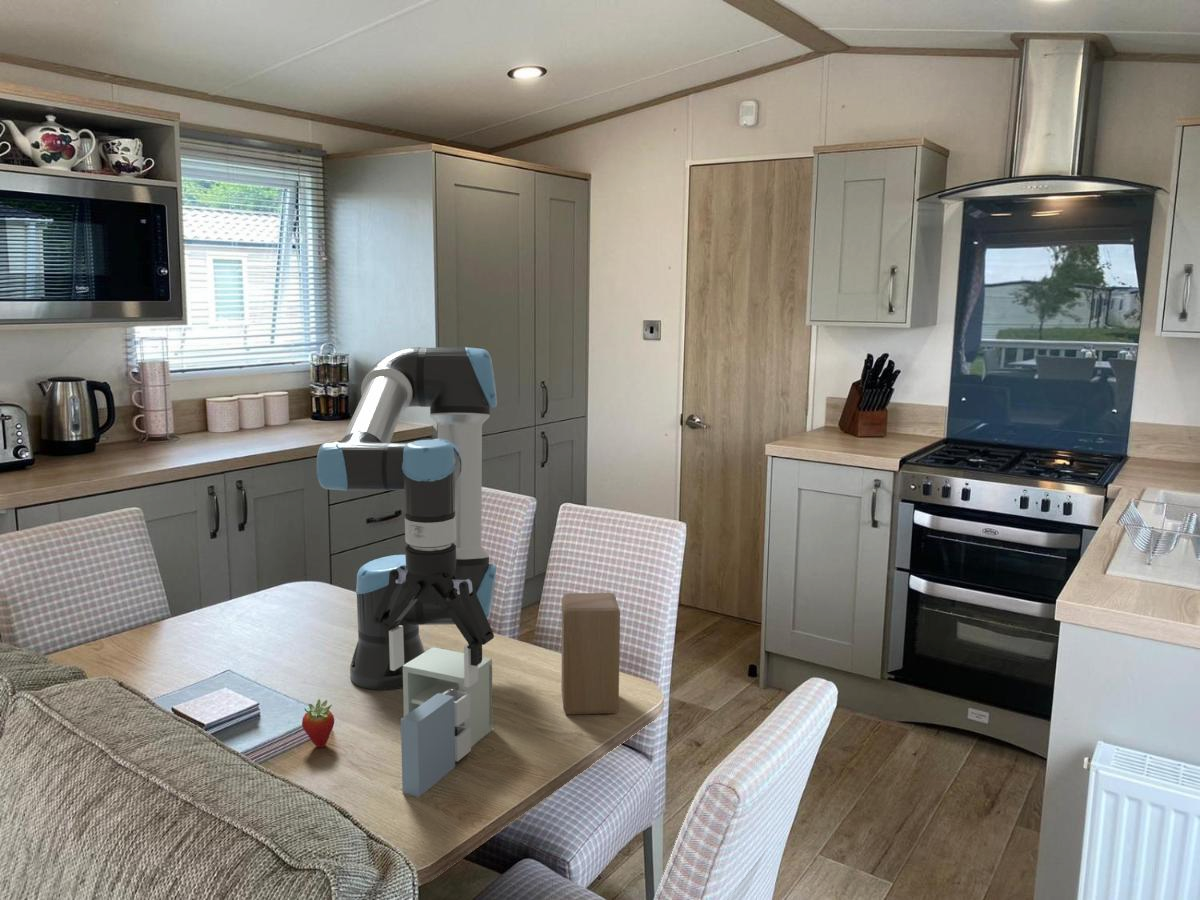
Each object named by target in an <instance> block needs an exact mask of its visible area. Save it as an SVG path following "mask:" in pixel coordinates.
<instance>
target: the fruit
mask: <svg viewBox="0 0 1200 900" xmlns="http://www.w3.org/2000/svg"><path fill="white" fill-rule="evenodd" d="M327 704H328V700H327V699H326V700H324V701H323V702H322V703H321V699H320V698H318V700H317V701H316V705H315V706H314V705H313V704H312V703H309V704H308V707H309V710H307V708H305V707H303V708H304V711H305V714H304V715H303V717H302V719H301V725H302V728H303V730H304V732H305V733H306V735H307V736H308V738H309V739H310V741H311V742H312V743H313V744H314V745H315V747H317V748H323V747H325V746H326V745H327V743H328V741H329V739H330V734H331V732H332V730H333V728H334V726H335V725H334V724H335V717H334V715H333V713H332V712H331V711H330V709H331V707H332V706H333V704H330V705H328V706H327Z"/></svg>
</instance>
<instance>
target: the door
mask: <svg viewBox="0 0 1200 900" xmlns="http://www.w3.org/2000/svg"><path fill="white" fill-rule="evenodd" d="M450 690H451V689H448V690H447V691H445V692H444V693H442V694H440V693H437V694H436V695H434V696H433V697H432V698H430V699H429V700H427V701H426V702H424V703H423V704H422V705H420V706H419V707H417V708H416V709H414V710H413V711H412V712H410V713H409V714H407V715H406V716H404V715H403V717H402V718H400V745H401V746H400V747H401V748H400V750H401V778H402V780H401V781H402V783H401V785H402V794H406V795H409V796H413V797H417V798H421V796H422V795H424V794H425V793H427V792H428V790H430V789H431V788H432V787H434V785H435V784H437V783H438V782H440V780H441V779H442V778H443V777H445V776H446V775H448V773H449V772H451V771H452V770H453V769H454V768H455V767H456V762H455V761H457V762H459V761H460V760H462V759H463V758H464V757H465V756H466V755H468V754H469V753H470V752H471V751H472V747H471V728H470V727H465V726H461V725H460V724H461V723H463V722H464V721H465V720H466V719H468V718H469V717H470V693H467V692H462V691H457V690H456V691H457V701H454V696H449V692H450ZM454 726H456V727H457V734H458V735H457V736H455V727H454Z"/></svg>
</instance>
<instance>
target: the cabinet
mask: <svg viewBox="0 0 1200 900" xmlns="http://www.w3.org/2000/svg"><path fill="white" fill-rule="evenodd" d="M448 689H456V690H457V691H462V692H467V693H470V717H469V718H468V719H466V720H465V721H464V722H463V723H461V724H460V725H461V726H465V727H470V728H471V748H473V746H475V745H476V744H477V743H478V742H479V741H481V740H482V739H483V738H484V737H486V736H487V735H488V734H489V733H490V732H492V730H493V658H490V657H485V656H482V662H481V663H480V664H479V665H478V681H477V682H476V683H474V684H473V685H472V686H470V687H469V688H468V687H465V684H464V652H459V651H456V650H449V649H446V648H445V649H444V648H439V647H434V646H433V647H430V648H429V649H427V650H426V651H425V652H424V653H423V654H421V655H419V656H418V657H416V658H414V659H413V660H411V661H409V662H408V663H406V664H405V665H403V688H402V693H403V694H402V697H403V717H404V716H406V715H407V714H409V713H410V712H412V711H413V710H414V709H416V708H417V707H419V706H420V705H422V704H423V703H424V702H426V701H427V700H429V699H430V698H432V697H433V696H434V695H436V694H437V693H440V694H442V693H444V692H445V691H447V690H448Z"/></svg>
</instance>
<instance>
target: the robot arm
mask: <svg viewBox="0 0 1200 900" xmlns="http://www.w3.org/2000/svg"><path fill="white" fill-rule="evenodd" d="M495 378H496V377H495V371H494V366H493V360H492V356H491V354H490V353H489V351H488V350H486V349H484V348H476V347H468V346H464V347H461V346H460V347H459V346H458V347H421V346H420V347H419V346H417V347H408V348H403V349H400V350H397V351H394V352H392V353H390V354H388V355H386V356H385V357H383V358H382V359H381V360H378V361H377V362H376V363H374V365H373V366H371V368H369V370H368V371H367V372H366V374H365V376H364V378H363V379H362V382H361V386H360V394H361V397H360V400H359V402H358V404H357V406H356V409H355V411H354V413H353V414H352V417H351V419H350V422H349V424H348V426H347V428H346V430H345V432H344V434H343V437H342V439H341V441H340V442H339V441H334V442H325V443H322V444H321V445H320V446H319V448H318V450H317V451H318V452H317V455H316V477H317V480H318V483H319V485H320V486H321V488H323V489H325V490H332V491H333V490H334V491H335V490H336V491H343V492H347V491H403V495H404V498H403V499H404V534H405V535H404V539H405V543H406V544H407V545H406V546H405V549H404V550H405V552H404V553H405V554H394V555H388V556H384V557H380V558H376V559H373V560H370V561H367V562H366V563H365V564H362V565H361V566H360V567H359V569H358V571H357V574H356V589H355V593H356V607H357V609H356V611H357V629H358V630H357V632H358V633H357V634H358V637H357V638H358V639H357V643H356V646H355V650H354V653H353V655H352V659H351V661H350V667H349V673H350V676H349V677H350V681H351V682H352V683H353V684H354V685H356V686H358V687H360V688H365V689H369V690H380V691H384V690H385V691H386V690H387V691H388V690H397V689H403V665H405V664H406V663H408V662H409V661H411V660H413V659H414V658H416V657H418V656H419V655H421V654H423V653H424V652H426V651H425V648H424V645H423V642H422V639H421V636H420V628H419V627H420V626H422V625H423V626H433V625H435V626H437V625H438V626H439V625H443V626H445V625H446V626H447V625H455V626H456V628H457V629H458V631H459V632H460V634H461V635H462V636H463V638H464V640H465V641H466V642H467V644H465V645H463V653H464V684H465V687H468V688H469V687H470V686H472V685H473V684H474V683H476V682H477V681H478V665H479V664H480V663H481V662H482V657H483V646H484V645H486V644H487V643H489V642H490V641H492V640H493V639H494V637H495V634H494V632H493V630H492V627H491V625H490V622H489V621H488V620H489V619H490V616H491V611H492V607H493V606H492V605H493V600H494V594H495V593H494V592H495V586H496V578H497V577H496V576H497V565H496V564H493V563H491V562H490V554H489V553H488V552H487V551H486V550H485V549H484V548H483V546H482V524H483V523H482V522H483V521H482V517H483V516H482V515H483V514H482V502H483V501H482V496H483V495H482V494H483V493H482V491H483V487H482V486H483V485H482V483H483V481H482V480H483V479H482V478H483V477H482V476H483V474H482V473H483V472H482V470H483V468H482V467H483V465H482V464H483V458H482V457H483V449H482V447H483V424H484V423H485V422H486V421H488V419H489V418H490V415H491V413H490V412H491V408H492V409H494V408H496V407H497V406H498V399H497V398H498V396H497V395H498V394H497V388H496V387H497V386H496V379H495ZM409 407H410V408H411V407H421V408H423V407H424V408H427V407H428V408H430V409H429V410H430V413H429V416H430V418H432V419H433V420H434V422H435V423H436V424H437V438H434V439H420V440H415V441H411V442H392V439H393V435H394V433H395V430H396V427H397V424H398V423H399V420H400V416H401V414H402V413H403V412H404V411H405V410H406V409H407V408H409Z"/></svg>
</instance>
